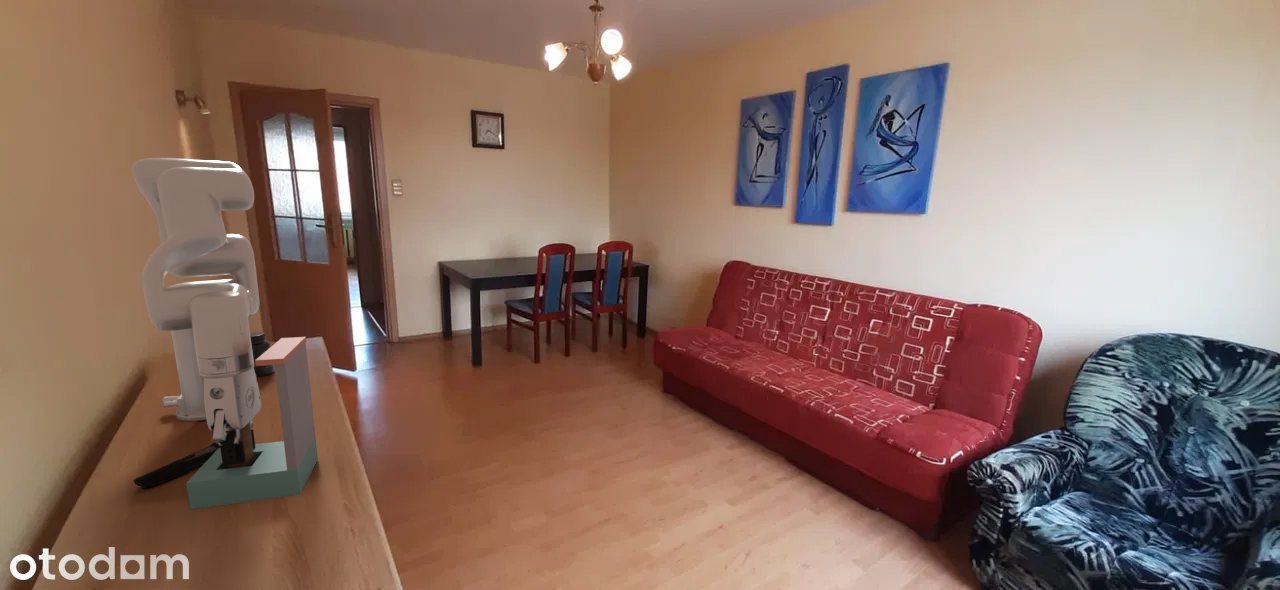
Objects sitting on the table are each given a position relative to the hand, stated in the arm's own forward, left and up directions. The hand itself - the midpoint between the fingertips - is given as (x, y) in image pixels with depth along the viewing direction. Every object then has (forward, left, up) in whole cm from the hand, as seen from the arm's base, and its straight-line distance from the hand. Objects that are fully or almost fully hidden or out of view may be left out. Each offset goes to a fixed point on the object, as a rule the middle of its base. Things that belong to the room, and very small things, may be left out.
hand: (239, 455), depth 91 cm
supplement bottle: (-17, +63, -6) cm, 66 cm away
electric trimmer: (-12, +9, -6) cm, 16 cm away
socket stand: (+3, 0, -6) cm, 6 cm away
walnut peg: (0, 0, -3) cm, 3 cm away
